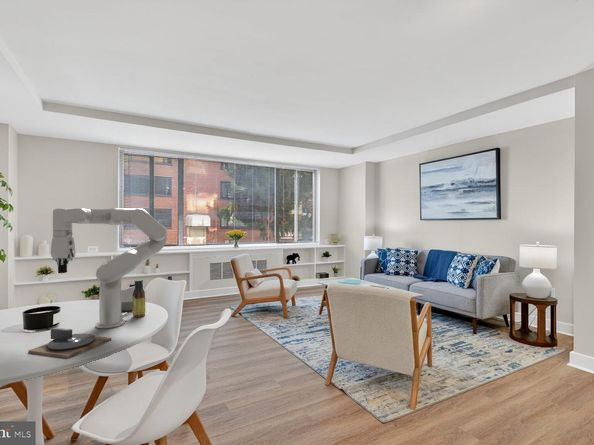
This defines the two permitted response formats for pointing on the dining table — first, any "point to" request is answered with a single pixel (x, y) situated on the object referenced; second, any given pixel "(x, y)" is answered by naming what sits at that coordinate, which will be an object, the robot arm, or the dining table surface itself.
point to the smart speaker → (127, 299)
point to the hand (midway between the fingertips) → (62, 272)
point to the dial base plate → (68, 353)
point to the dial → (68, 339)
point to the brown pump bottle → (138, 299)
